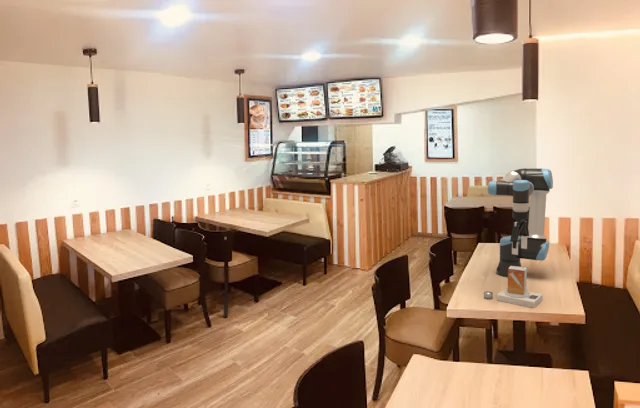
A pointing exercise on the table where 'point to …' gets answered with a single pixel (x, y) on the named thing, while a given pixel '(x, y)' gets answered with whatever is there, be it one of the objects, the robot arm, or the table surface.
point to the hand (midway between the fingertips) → (519, 251)
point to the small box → (517, 280)
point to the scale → (520, 298)
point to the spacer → (488, 295)
